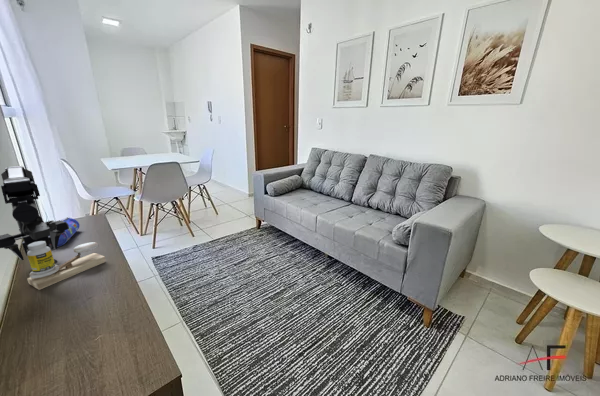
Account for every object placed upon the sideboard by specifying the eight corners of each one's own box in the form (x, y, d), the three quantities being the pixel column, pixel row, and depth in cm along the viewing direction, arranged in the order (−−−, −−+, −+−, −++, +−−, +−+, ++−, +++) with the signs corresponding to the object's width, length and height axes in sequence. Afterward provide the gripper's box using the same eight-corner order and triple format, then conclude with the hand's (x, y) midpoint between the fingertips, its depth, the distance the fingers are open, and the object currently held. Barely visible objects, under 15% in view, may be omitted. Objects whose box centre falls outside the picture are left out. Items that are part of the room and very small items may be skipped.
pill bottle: (41, 275, 91) (32, 248, 88) (28, 273, 92) (19, 246, 89) (60, 266, 97) (52, 240, 94) (47, 264, 98) (39, 239, 95)
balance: (29, 284, 94) (22, 264, 92) (95, 257, 113) (91, 240, 111) (39, 289, 91) (32, 269, 88) (105, 261, 110) (101, 244, 108)
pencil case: (62, 232, 139) (58, 216, 137) (82, 230, 143) (78, 214, 140) (46, 249, 120) (40, 231, 118) (69, 246, 124) (64, 228, 121)
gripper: (-3, 227, 77) (13, 272, 81) (71, 210, 93) (81, 248, 97) (-17, 222, 82) (-1, 264, 86) (56, 206, 98) (66, 242, 102)
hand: (39, 254), depth 93 cm, fingers open, 9 cm apart
